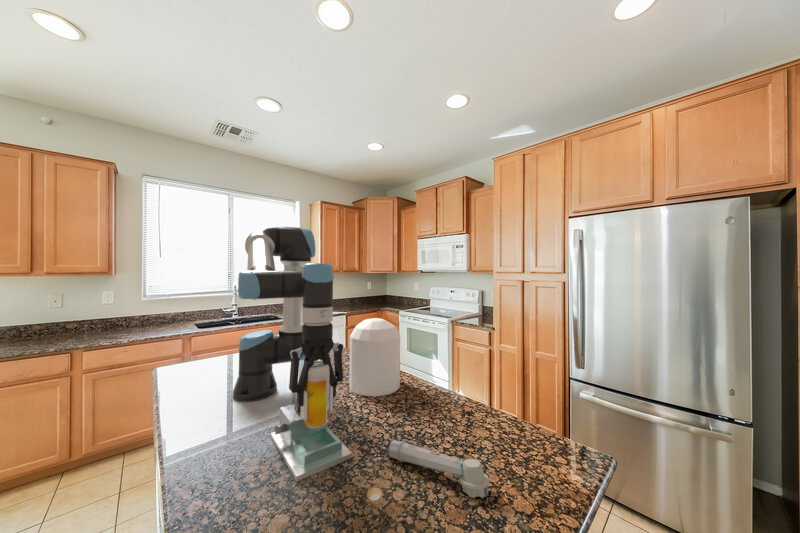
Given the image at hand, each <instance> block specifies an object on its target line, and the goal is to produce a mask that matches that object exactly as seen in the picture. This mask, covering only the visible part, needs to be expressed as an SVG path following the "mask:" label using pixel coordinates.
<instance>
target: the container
mask: <svg viewBox="0 0 800 533" xmlns="http://www.w3.org/2000/svg"><path fill="white" fill-rule="evenodd" d="M348 371H349V373H348V374H349V377H348V378H349V382H348V383H349V385H348V386H349V389H350V392H353V393H354V394H356V395H358V396H359V395H360V396H365V397H383V396H386V395H391V394H393V393H395V392H397V391H398V389H400V387H401V386H400V385H401V333H400V332H399V331H398V329H397V327H396V326H395V325H394V324H393V323H391V322H389V321H388V320H386V319H383V318H380V317H373V318H366V319H364V320H362V321H361V322H359V323H358V324H356V325H355V327H354V328H353V330H352V331H351V334H350V335H349V370H348Z"/></svg>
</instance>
